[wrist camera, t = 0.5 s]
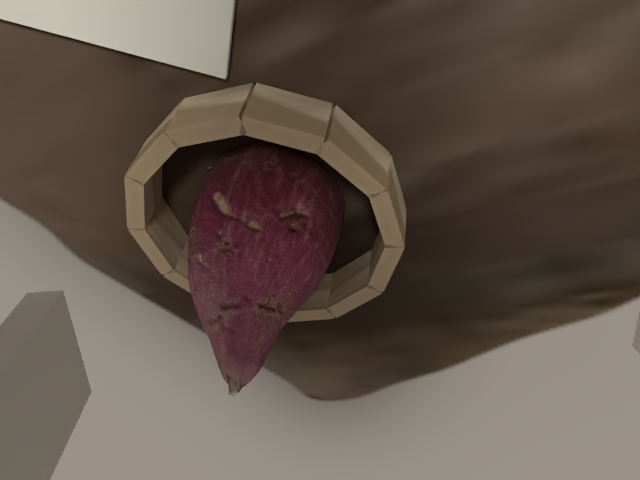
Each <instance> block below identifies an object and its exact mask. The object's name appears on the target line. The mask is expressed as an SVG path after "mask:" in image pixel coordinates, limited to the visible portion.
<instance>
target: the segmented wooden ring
mask: <svg viewBox="0 0 640 480" xmlns="http://www.w3.org/2000/svg"><path fill="white" fill-rule="evenodd" d="M332 106H333V103H330V102H327V101H323V100H319V99H316V98H312V97H308V96H304V95H301V94H297V93H293V92H290V91H286V90H282V89H278V88H275V87H271V86H267V85H263V84H260V83H256V85H255V86H254V84H253V83H249V84H244V85H240V86H235V87H231V88H227V89H222V90H218V91H213V92H209V93H205V94H200V95H196V96H191V97H187V98H184V100H181V101H180V102H179V103H178V105H177V106H176V107H175V108H174V109H173V110H172V111H171V113H170V114H169V115H168V116H167V117H166V118H165V120H164V121H163V122H162V123H161V124H160V125H159V127H158V128H157V129H156V130H155V131H154V132H153V133H152V135H151V136H150V137H149V138H148V139H147V140H146V142H145V143H144V145H143V147H142V148H141V150H140V151H139V153H138V155H137V156H136V158H135V160H134V161H133V163H132V165H131V166H130V168H129V170H128V171H127V173H126V174H125V195H126V213H127V228H129V232H130V233H131V234H132V236H133V237H134V238H135V240H136V241H137V242H138V244H139V245H140V247H141V248H142V249H143V251H144V252H145V253H146V255H147V256H148V257H149V259H150V260H151V261H152V263H153V264H154V265H155V267H156V268H157V269H158V271H159V272H160V274H161V275H162V274H164V277H165V278H167V279H168V280H170V281H172V282H173V283H175V284H177V285H178V286H180V287H181V288H183V289H185V290H186V291H188V292H190V293H191V291H190V286H189V280H188V240H189V237H188V235H187V234H186V232H185V230H184V229H183V227H182V226H181V224H180V223H179V221H178V220H177V218H176V217H175V215H174V213H173V212H172V210H171V209H170V207H169V206H168V204H167V203H166V201H165V200H164V198H163V197H162V167H163V163H164V162H165V161H166V160H167V159H168V158H169V157H170V156H171V155H172V154H173V153H174V152H175V151H176V150H177V148H179V147H184V146H189V145H194V144H199V143H204V142H209V141H215V140H220V139H225V138H230V137H235V136H240V135H246V136H250V137H254V138H257V139H261V140H265V141H269V142H273V143H276V144H280V145H284V146H288V147H292V148H295V149H299V150H303V151H307V152H311V153H314V154H317V155H318V156H320V157H321V158H322V159H323V160H324V161H326V162H327V163H328V164H329V165H330V166H332V167H333V168H334V169H335V170H337V171H338V172H339V173H340V174H341V175H343V176H344V177H345V178H346V179H347V180H349V181H350V182H351V183H352V184H354V185H355V186H356V187H357V188H358V189H360V190H361V191H362V192H363V193H364V194H366V195H367V196H368V197H369V199H370V202H371V205H372V208H373V211H374V214H375V217H376V220H377V223H378V226H379V229H380V231H379V233H378V235H377V238H376V240H375V243H374V245H373V247H372V250H370V251H368V252H367V253H365V254H363V255H362V256H360V257H359V258H357V259H355V260H354V261H352V262H350V263H349V264H347V265H346V266H344V267H342V268H341V269H339V270H337V271H336V272H334V273H331V274H324V276H323V277H322V279H321V281H320V282H319V284H318V285H317V286H316V288H315V289H314V291H313V292H312V294H311V295H310V296H309V297H308V298H307V299H306V300H305V302H304V303H303V304H302V305H301V307H300V308H299V309H298V310H297V311H296V313H295V314H294V315H293V316H292V317H291V318H290V320H289V321H288V322H298V321H311V320H324V319H334V317H336V318H338V317H339V316H341V315H343V314H345V313H347V312H349V311H351V310H352V309H354V308H356V307H358V306H360V305H362V304H364V303H365V302H367V301H369V300H371V299H373V298H375V297H377V296H378V295H380V294H382V292H384V290H385V288H386V286H387V284H388V282H389V280H390V277H391V275H392V273H393V271H394V269H395V267H396V265H397V263H398V261H399V259H400V257H401V255H402V253H403V251H404V247H405V230H406V211H407V209H406V206H405V202H404V198H403V195H402V191H401V188H400V184H399V180H398V177H397V173H396V169H395V166H394V162H393V159H392V155H390V152H389V151H387V150H386V149H385V148H384V147H383V146H382V145H381V144H380V143H378V142H377V141H376V140H375V139H374V138H373V137H372V136H371V135H370V134H368V133H367V132H366V131H365V130H364V129H363V128H362V127H361V126H359V125H358V124H357V123H356V122H355V121H354V120H353V119H352V118H350V117H349V116H348V115H347V114H346V113H345V112H344V111H343V110H341V109H340V108H339V107H338V106H337V105H336V106H334V107H333V108H332Z"/></svg>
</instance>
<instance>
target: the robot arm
mask: <svg viewBox="0 0 640 480" xmlns="http://www.w3.org/2000/svg"><path fill="white" fill-rule="evenodd" d="M633 347H634V348H635V349H636V350H637V351H638V352H639V353H640V313H639V318H638V322H637V327H636V332H635V337H634V342H633ZM90 394H91V388H90V385H89V382H88V378H87V374H86V371H85V367H84V364H83V360H82V357H81V353H80V349H79V346H78V342H77V338H76V335H75V331H74V328H73V324H72V321H71V317H70V314H69V310H68V306H67V303H66V299H65V296H64V292H63V291H48V292H36V293H27V294H26V295H25V296H24V298H23V299H22V300H21V301H20V303H19V304H18V305H17V306H16V307H15V308H14V310H13V311H12V312H11V313H10V314H9V316H8V317H7V318H6V319H5V320H4V322H3V323H2V324H1V325H0V480H50V478H51V476H52V474H53V472H54V470H55V468H56V466H57V464H58V462H59V459H60V457H61V455H62V453H63V451H64V449H65V447H66V445H67V442H68V440H69V438H70V436H71V434H72V432H73V430H74V428H75V425H76V423H77V421H78V419H79V417H80V415H81V413H82V410H83V408H84V406H85V404H86V402H87V400H88V398H89V396H90Z"/></svg>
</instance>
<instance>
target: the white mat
mask: <svg viewBox="0 0 640 480" xmlns="http://www.w3.org/2000/svg"><path fill="white" fill-rule="evenodd" d="M235 2H236V0H0V19H3V20H6V21H10V22H14V23H18V24H21V25H25V26H29V27H32V28H36V29H40V30H44V31H47V32H51V33H55V34H59V35H62V36H66V37H70V38H73V39H77V40H81V41H85V42H88V43H92V44H96V45H100V46H103V47H107V48H111V49H114V50H118V51H122V52H126V53H129V54H133V55H137V56H141V57H144V58H148V59H152V60H155V61H159V62H163V63H167V64H170V65H174V66H178V67H182V68H185V69H189V70H193V71H196V72H200V73H204V74H208V75H211V76H215V77H219V78H223V79H226V78H227V76H228V70H229V60H230V50H231V41H232V31H233V21H234V12H235Z"/></svg>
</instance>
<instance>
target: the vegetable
mask: <svg viewBox="0 0 640 480" xmlns="http://www.w3.org/2000/svg"><path fill="white" fill-rule="evenodd" d="M206 171H207V176H206V177H205V179H204V182H203V184H202V187H201V190H200V192H199V195H198V198H197V201H196V205H195V208H194V211H193V215H192V218H191V224H190V230H189V240H188V280H189V286H190V291H191V295H192V299H193V302H194V305H195V308H196V310H197V313H198V315H199V318H200V320H201V323H202V325H203V327H204V329H205V331H206V333H207V335H208V337H209V340H210V342H211V345H212V348H213V351H214V354H215V357H216V360H217V362H218V366H219V369H220V371H221V373H222V376H223V378H224V380H225V381H226V382H227V383H228V385H229V394H231V395H232V396H234V395H235V394H237V393H239V391H240V390H241V388H242V387H244V386H245V385H246V384H247V383H248V382H250V381H251V380H252V379H253V378H254V377H255V376H256V374H257V373H258V372H259V370H260V369H261V367H262V365H263V363H264V361H265V359H266V357H267V355H268V353H269V351H270V349H271V347H272V345H273V343H274V342H275V340H276V338H277V336H278V334H279V332H280V331H281V329H282V328H283V326H284V325H285V324H286V323H287V322H288V321H289V320H290V318H291V317H292V316H293V315H294V314H295V313H296V311H297V310H298V309H299V308H300V307H301V305H302V304H303V303H304V302H305V300H306V299H307V298H308V297H309V296H310V295H311V294H312V292H313V291H314V289H315V288H316V286H317V285H318V284H319V282H320V281H321V279H322V277H323V276H324V274H325V272H326V270H327V269H328V266H329V264H330V262H331V260H332V258H333V255H334V252H335V249H336V246H337V243H338V240H339V237H340V233H341V228H342V223H343V217H344V210H345V202H344V198H343V195H342V193H341V191H340V189H339V186H338V185H337V184H336V183H335V182H334V180H333V179H332V177H331V176H330V175H329V174H328V173H327V171H326V170H325V169H324V168H323V167H322V166H321V165H319V163H317V162H316V161H314V160H313V159H312V158H309V157H308V156H306V155H302V154H301V153H298V152H297V151H295V150H292V149H289V148H288V147H285V146H282V145H280V144H276V143H272V142H267V141H254V142H250V143H247V144H245V145H242V146H240V147H237V148H235V149H233V150H231V151H229V152H227V153H224V154H223V155H221V156H220V157H219V158H218V160H217V161H216V163H214V165H213V166H212V167H210V168H208V169H207V170H206Z"/></svg>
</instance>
